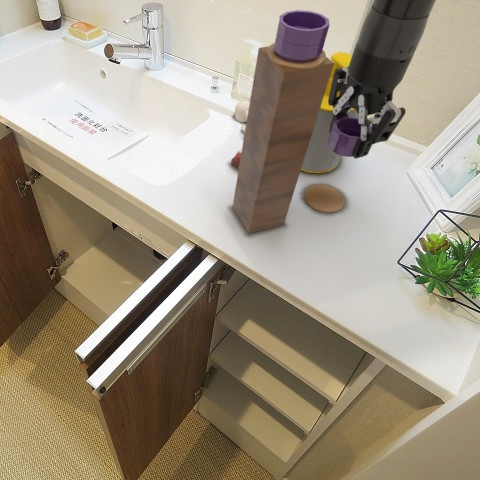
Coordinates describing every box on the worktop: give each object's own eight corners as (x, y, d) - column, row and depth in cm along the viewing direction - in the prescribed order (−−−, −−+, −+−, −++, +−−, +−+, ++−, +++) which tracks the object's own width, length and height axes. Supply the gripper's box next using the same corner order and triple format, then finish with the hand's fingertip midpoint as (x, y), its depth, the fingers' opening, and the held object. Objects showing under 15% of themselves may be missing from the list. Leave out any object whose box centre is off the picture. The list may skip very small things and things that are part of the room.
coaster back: (352, 207, 77) (352, 206, 77) (317, 216, 76) (317, 215, 76) (329, 182, 82) (330, 181, 82) (296, 190, 80) (297, 189, 80)
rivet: (269, 154, 88) (270, 148, 87) (262, 157, 88) (264, 151, 87) (244, 128, 94) (245, 122, 93) (238, 130, 94) (239, 124, 92)
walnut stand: (283, 224, 75) (334, 62, 52) (248, 234, 73) (284, 72, 51) (265, 199, 79) (305, 39, 56) (232, 207, 78) (258, 47, 55)
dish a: (329, 59, 52) (339, 26, 49) (287, 67, 51) (295, 33, 48) (304, 39, 56) (312, 7, 53) (265, 46, 54) (270, 14, 51)
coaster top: (336, 63, 52) (337, 61, 52) (284, 73, 50) (284, 70, 50) (305, 38, 56) (306, 36, 56) (256, 47, 55) (256, 45, 55)
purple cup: (371, 154, 68) (380, 133, 65) (340, 161, 67) (348, 141, 64) (349, 134, 72) (357, 113, 69) (320, 140, 71) (327, 120, 68)
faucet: (248, 130, 101) (244, 89, 96) (293, 149, 86) (292, 103, 81) (233, 135, 100) (229, 94, 95) (277, 156, 86) (274, 109, 80)
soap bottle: (287, 177, 83) (316, 76, 67) (273, 138, 91) (295, 40, 75) (352, 174, 83) (396, 73, 67) (331, 135, 91) (366, 38, 75)
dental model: (230, 149, 82) (252, 132, 86) (227, 166, 85) (248, 148, 89) (253, 162, 80) (275, 143, 84) (249, 178, 83) (271, 160, 87)
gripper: (332, 26, 60) (303, 125, 73) (398, 73, 51) (352, 176, 64) (376, 19, 62) (340, 117, 74) (448, 63, 53) (393, 166, 66)
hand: (346, 144), depth 69 cm, fingers closed on purple cup, 6 cm apart
